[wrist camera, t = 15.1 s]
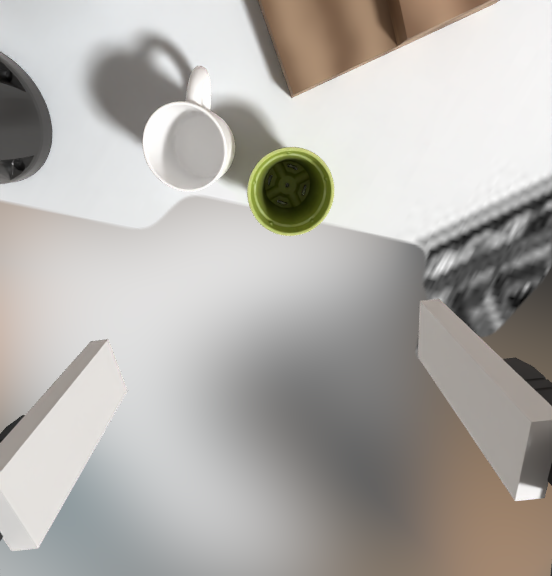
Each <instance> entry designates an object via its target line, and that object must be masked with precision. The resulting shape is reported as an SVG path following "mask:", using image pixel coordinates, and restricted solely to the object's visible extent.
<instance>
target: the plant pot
mask: <svg viewBox="0 0 552 576" xmlns="http://www.w3.org/2000/svg"><path fill="white" fill-rule="evenodd" d="M290 164H291V165H293V166H296V167H297V168H298V169H297V170H295V169H294V168H290V167H287V166H288V165H290ZM270 175H272V178H271V182H270V185H268V179H269V176H270ZM286 183H288V184H289V187H286V186H285V185H286ZM304 185H306V189H305V193H304V195H301V194H302V191H303V189H304ZM247 195H248V202H249V206H250V209H251V211H252V213H253V215H254V216H255V218H256V219H257V221H258V222H259V223H260V224H261V225H262V226H263V227H265V228H266V229H268V230H270V231H272V232H274V233H276V234H280V235H285V236H293V235H300V234H303V233H306V232H309V231H310V230H312V229H314V228H315V227H317V226H318V225H319V224H320V223H321V222H322V221H323V220H324V219H325V217H326V216H327V214H328V213H329V211H330V208H331V206H332V203H333V198H334V182H333V178H332V175H331V172H330V170H329V168H328V167H327V165H326V164H325V162H324V161H323V160H322V159H321V158H320V157H319V156H317V155H316V154H314V153H313V152H311V151H309V150H306V149H303V148H298V147H285V148H280V149H277V150H275V151H272V152H270V153H269V154H267V155H266V156H264V157H263V158H262V159H261V160H260V161H259V162H258V163H257V164H256V166H255V167H254V169H253V171H252V173H251V175H250V178H249V182H248V188H247ZM277 200H280V201H282V202H285V203H287V204H280V203H278V202H277Z"/></svg>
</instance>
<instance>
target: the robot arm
mask: <svg viewBox="0 0 552 576" xmlns="http://www.w3.org/2000/svg"><path fill="white" fill-rule="evenodd" d="M51 143H52V125H51V119H50V115H49V111H48V108H47V105H46V103H45V101H44V99H43V97H42V95H41V93H40V91H39V89H38V88H37V86H36V85H35V83H34V82H33V81H32V79H31V78H30V77H29V76H28V74H27V73H26V72H25V71H24V70H23V69H22V68H21V67H20V66H19V65H17V64H16V63H15V62H14V61H13V60H11V59H10V58H8V57H7V56H5V55H4V54H2V53H0V184H5V183H11V182H17V181H21V180H24V179H26V178H28V177H30V176H32V175H33V174H35V173H36V172H37V171H38V170H39V169H40V168H41V167H42V166H43V164H44V163H45V161H46V159H47V157H48V155H49V152H50V148H51ZM418 358H419V359H420V361H421V362H422V364H423V365H424V367H425V368H426V370H427V371H428V373H429V374H430V375H431V377H432V379H433V380H434V382H435V383H436V384H437V386H438V387H439V389H440V390H441V392H442V393H443V395H444V396H445V398H446V399H447V401H448V402H449V403H450V405H451V407H452V408H453V410H454V411H455V413H456V414H457V415H458V417H459V418H460V420H461V422H462V423H463V424H464V426H465V427H466V429H467V430H468V432H469V433H470V435H471V436H472V438H473V439H474V441H475V442H476V444H477V445H478V447H479V448H480V450H481V451H482V452H483V454H484V456H485V457H486V459H487V460H488V462H489V463H490V465H491V466H492V468H493V469H494V470H495V472H496V473H497V475H498V476H499V478H500V479H501V481H502V482H503V484H504V485H505V486H506V488H507V490H508V491H509V493H510V494H511V496H512V497H513V498H514V500H515V501H520V500H530V499H540V498H545V494H546V490H547V486H548V482H549V483H550V484H551V485H552V383H551V382H550V381H549V380H546V379H545V377H544V376H543V375H542V374H541V373H540V372H539V371H537V370H536V369H535V368H534V367H532V366H531V365H529V364H527V363H525V362H523V361H521V360H519V359H517V358H509V359H502V358H501V357H500V356H499V355H497V354H496V353H495V352H494V351H493V350H492V349H491V348H490V347H489V346H488V345H487V344H486V343H485V342H484V341H483V340H482V339H481V338H480V337H479V336H478V335H477V334H475V333H474V332H473V331H472V330H471V329H470V328H469V327H468V326H467V325H466V324H465V323H464V322H463V321H462V320H461V319H460V318H459V317H458V316H457V315H455V314H454V313H453V312H452V311H451V310H450V309H449V308H448V307H447V306H446V305H445V304H444V303H443V302H442V301H441V300H440V299H432V300H424V301H420V316H419V343H418ZM126 393H127V388H126V385H125V383H124V380H123V378H122V375H121V372H120V369H119V366H118V364H117V361H116V358H115V356H114V353H113V351H112V348H111V345H110V342H109V340H108V339H106V340H99V341H91V342H90V343H89V344H88V345H87V346H86V347H85V349H84V350H83V351H82V352H81V353H80V354H79V355H78V356H77V358H76V359H75V360H74V361H73V362H72V363H71V364H70V365H69V366H68V368H67V369H66V370H65V371H64V372H63V373H62V374H61V375H60V377H59V378H58V379H57V380H56V381H55V382H54V383H53V384H52V386H51V387H50V388H49V389H48V390H47V391H46V393H45V394H44V395H43V396H42V397H41V398H40V399H39V400H38V401H37V403H36V404H35V405H34V406H33V407H32V408H31V409H30V410H29V411H28V413H27V414H26V415H22V416H21V417H19V418H18V419H17V420H16V421H14V422H13V423H11V424H10V425H9V426H7V427H6V428H5V429H4V430H3V431H2V432H1V434H0V540H1V539H2V538H3V539H4V541H5V542H6V543H7V545H8V546H9V548H10V549H11V551H16V550H26V549H37V548H39V546H40V544H41V542H42V541H43V539H44V537H45V535H46V534H47V532H48V530H49V528H50V527H51V525H52V523H53V521H54V519H55V518H56V516H57V514H58V512H59V511H60V509H61V507H62V505H63V504H64V502H65V500H66V498H67V497H68V495H69V493H70V491H71V490H72V488H73V486H74V484H75V483H76V481H77V479H78V477H79V476H80V474H81V472H82V470H83V468H84V467H85V465H86V463H87V461H88V460H89V458H90V456H91V454H92V453H93V451H94V449H95V447H96V446H97V444H98V442H99V440H100V439H101V437H102V435H103V433H104V431H105V430H106V428H107V426H108V424H109V423H110V421H111V419H112V418H113V416H114V414H115V412H116V410H117V409H118V407H119V405H120V403H121V402H122V400H123V398H124V396H125V395H126ZM551 576H552V567H551Z"/></svg>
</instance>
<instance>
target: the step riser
mask: <svg viewBox="0 0 552 576" xmlns="http://www.w3.org/2000/svg"><path fill="white" fill-rule="evenodd" d="M498 1H500V0H258V2H259V5H260V8H261V11H262V14H263V17H264V19H265V22H266V25H267V28H268V31H269V34H270V37H271V39H272V42H273V45H274V48H275V51H276V54H277V57H278V60H279V62H280V65H281V68H282V71H283V74H284V77H285V80H286V83H287V85H288V88H289V91H290V94H291V97H292V98H293V97H295V96H297V95H299V94H301V93H303V92H306V91H308V90H310V89H312V88H314V87H316V86H318V85H321V84H323V83H325V82H327V81H329V80H331V79H333V78H336V77H338V76H340V75H342V74H344V73H346V72H349V71H351V70H353V69H355V68H357V67H359V66H361V65H364V64H366V63H368V62H370V61H372V60H374V59H376V58H379V57H381V56H383V55H385V54H387V53H389V52H392V51H394V50H396V49H398V48H400V47H402V46H404V45H407V44H409V43H411V42H413V41H415V40H417V39H420V38H422V37H424V36H426V35H428V34H430V33H432V32H435V31H437V30H439V29H441V28H443V27H445V26H447V25H450V24H452V23H454V22H456V21H458V20H460V19H463V18H465V17H467V16H469V15H471V14H473V13H475V12H478V11H480V10H482V9H484V8H486V7H488V6H491V5H493V4H495V3H496V2H498Z"/></svg>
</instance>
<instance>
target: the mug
mask: <svg viewBox="0 0 552 576" xmlns="http://www.w3.org/2000/svg"><path fill="white" fill-rule="evenodd" d="M210 109H211V84H210V77H209V74H208V72H207V70H206V69H205V68H204V67H202V66H197V67H195V68H194V69H193V71H192V72H191V74H190V77H189V81H188V86H187V93H186V100H185V101H176V102H171V103H167V104H165V105H163V106H161V107H160V108H158V109H157V110H156V111H155V112H154V113H153V114H152V115H151V116H150V117H149V119H148V121H147V123H146V125H145V128H144V132H143V138H142V146H143V152H144V156H145V159H146V162H147V164H148V166H149V168H150V169H151V171H152V172H153V173H154V175H155V176H156V177H157V178H158V179H159V180H160V181H161V182H163V183H164V184H166V185H167V186H169V187H171V188H174V189H176V190H180V191H198V190H201V189H204V188H206V187H208V186H209V185H211V184H212V183H213V182H215V181H216V180H217V179H219V178H220V177H221V176H223V175H224V174H225V173H226V172H227V171H228V169H229V168H230V166H231V164H232V162H233V159H234V155H235V141H234V137H233V134H232V132H231V130H230V128H229V126H228V125H227V123H226V122H225V121H224V120H223V119H222V118H221V117H219V116H218V115H217V114H215V113H213V112H211V111H210Z"/></svg>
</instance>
